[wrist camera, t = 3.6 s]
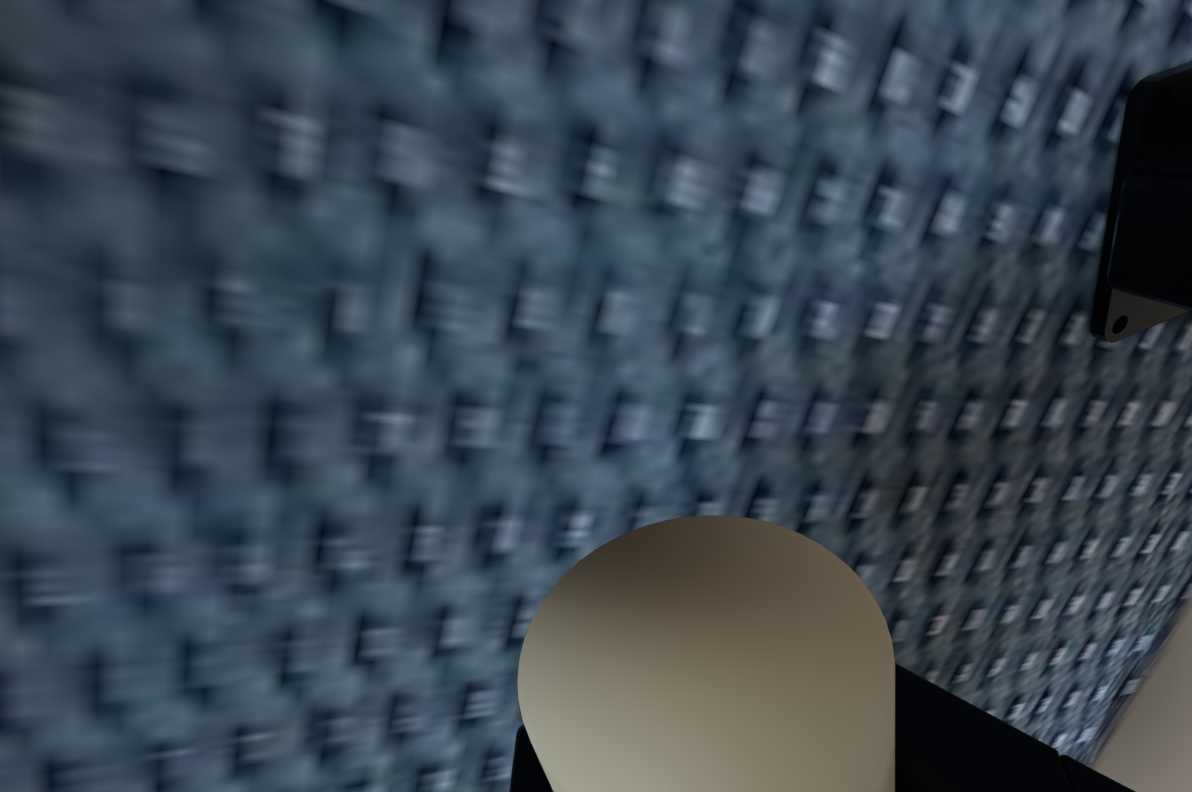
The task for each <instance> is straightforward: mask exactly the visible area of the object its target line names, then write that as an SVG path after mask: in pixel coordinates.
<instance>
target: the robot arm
mask: <svg viewBox="0 0 1192 792" xmlns="http://www.w3.org/2000/svg"><path fill="white" fill-rule="evenodd" d="M1187 311H1192V62H1189V63H1186V64H1183V65H1180V66H1177V67H1174V68H1171V69H1168V70H1165V71H1162V72H1159V73H1157V74H1154V75H1151V76H1148V77H1146V78H1144V79H1142V80H1141V81H1140V82H1139V83H1138V84H1137V85H1136V86H1135V87H1134V88H1133V90H1132V92H1131V94H1130V96H1129V98H1128V101H1127V105H1126V109H1125V115H1124V121H1123V128H1122V134H1121V140H1120V146H1119V152H1118V158H1117V165H1116V171H1115V177H1114V183H1113V189H1112V195H1111V202H1110V208H1109V214H1108V220H1107V226H1106V232H1105V239H1104V245H1103V251H1102V257H1101V263H1100V269H1099V276H1098V282H1097V288H1096V294H1095V300H1094V306H1093V313H1092V319H1091V325H1090V332H1091V334H1092V336H1094V337H1097V338H1100V339H1102V340H1105V341H1108V342H1111V343H1113V342H1117V341H1119V340H1122V339H1124V338H1126V337H1129V336H1131V335H1134V334H1136V333H1138V332H1141V331H1143V330H1145V329H1148V328H1150V327H1152V326H1155V325H1157V324H1159V323H1162V322H1164V321H1166V320H1169V319H1171V318H1173V317H1176V316H1178V315H1180V314H1183V313H1185V312H1187ZM509 792H554V791H553V789H552V787H551V785H550V783H549V780H548V778H547V776H546V774H545V772H544V770H543V767H542V765H541V763H540V761H539V759H538V756H537V754H536V752H535V750H534V748H533V746H532V743H531V741H530V739H529V736H528V733H527V730H526V728H525V725H524V724H523V725H521V726H520V727H519V729H518V731H517V734H516V742H515V750H514V758H513V767H512V775H511V783H510V791H509ZM895 792H1135V791H1133V790H1131V789H1130V788H1127V787H1125V786H1124V785H1121V784H1120V783H1118V782H1116V781H1114V780H1112V779H1110V778H1108V777H1106V776H1104V775H1102V774H1100V773H1099V772H1097V771H1095V770H1093V769H1091V768H1089V767H1087V766H1086V765H1084V764H1082V763H1080V762H1078V761H1076V760H1074V759H1073V758H1071V757H1069V756H1067V755H1061V756H1060V755H1059V753H1058V751H1057V750H1055V749H1054V748H1052V747H1050V746H1048V745H1046V744H1044V743H1042V742H1041V741H1039V740H1037V739H1035V738H1033V737H1031V736H1029V735H1028V734H1026V733H1024V732H1022V731H1020V730H1018V729H1017V728H1015V727H1013V726H1011V725H1009V724H1007V723H1005V722H1004V721H1002V720H1000V719H998V718H996V717H994V716H992V715H991V714H989V713H987V712H985V711H983V710H981V709H979V708H978V707H976V706H974V705H972V704H970V703H968V702H966V701H965V700H963V699H961V698H959V697H957V696H955V695H954V694H952V693H950V692H948V691H946V690H944V689H942V688H941V687H939V686H937V685H935V684H933V683H931V682H929V681H928V680H926V679H924V678H922V677H920V676H918V675H916V674H915V673H913V672H911V671H909V670H907V669H905V668H903V667H902V666H900V665H898V664H896V663H895Z"/></svg>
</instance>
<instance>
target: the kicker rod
mask: <svg viewBox="0 0 1192 792" xmlns="http://www.w3.org/2000/svg"><path fill="white" fill-rule="evenodd" d="M518 699H519V704H520V709H521V714H522V719H523V722H524V725H525V728H526V730H527V733H528V736H529V739H530V741H531V743H532V746H533V748H534V750H535V752H536V754H537V756H538V759H539V761H540V763H541V765H542V767H543V770H544V772H545V774H546V776H547V778H548V780H549V783H550V785H551V787H552V789H553V791H554V792H895V659H894V652H893V645H892V639H891V636H890V633H889V630H888V626H887V623H886V620H885V618H884V616H883V614H882V612H881V610H880V608H879V605H878V603H877V601H876V600H875V598H874V597H873V595H872V594H871V592H870V591H869V589H868V588H867V586H866V585H865V583H864V582H863V581H862V580H861V579H860V578H859V577H858V576H857V575H856V573H855V572H854V571H853V570H852V569H851V568H850V567H849V566H848V565H847V564H845V563H844V562H843V561H842V560H841V559H840V558H838V557H837V556H836V555H835V554H833V553H832V552H831V551H829V550H828V549H826V548H825V547H823V546H822V545H820V544H819V543H817V542H815V541H813V540H811V539H809V538H807V537H805V536H804V535H802V534H800V533H797V532H795V531H792V530H790V529H787V528H784V527H782V526H779V525H775V524H772V523H768V522H765V521H760V520H755V519H749V518H744V517H734V516H692V517H683V518H677V519H671V520H666V521H662V522H658V523H654V524H651V525H647V526H644V527H641V528H639V529H636V530H633V531H631V532H628V533H626V534H624V535H622V536H620V537H617V538H615V539H613V540H611V541H609V542H608V543H606V544H604V545H603V546H601V547H599V548H598V549H596V550H594V551H593V552H592V553H590V554H589V555H587V556H586V557H585V558H583V559H582V560H581V561H579V562H578V563H577V564H576V565H575V566H574V567H573V568H571V569H570V570H569V571H568V572H567V573H566V574H565V575H564V576H563V577H562V578H561V579H560V580H559V582H558V583H557V584H556V585H555V586H554V587H553V588H552V589H551V591H550V592H549V594H548V595H547V596H546V598H545V599H544V601H543V602H542V603H541V605H540V607H539V609H538V610H537V612H536V614H535V616H534V618H533V620H532V621H531V624H530V626H529V629H528V632H527V634H526V637H525V639H524V643H523V647H522V651H521V655H520V660H519V670H518Z"/></svg>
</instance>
